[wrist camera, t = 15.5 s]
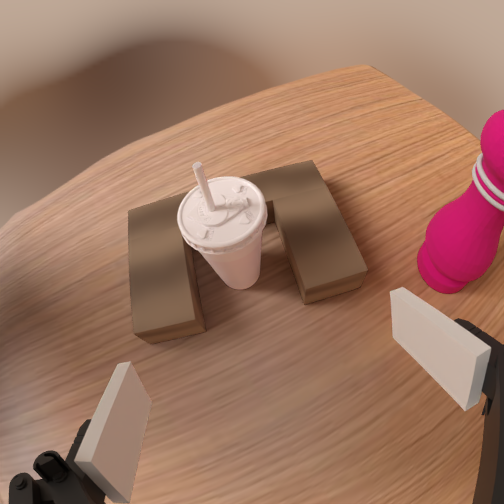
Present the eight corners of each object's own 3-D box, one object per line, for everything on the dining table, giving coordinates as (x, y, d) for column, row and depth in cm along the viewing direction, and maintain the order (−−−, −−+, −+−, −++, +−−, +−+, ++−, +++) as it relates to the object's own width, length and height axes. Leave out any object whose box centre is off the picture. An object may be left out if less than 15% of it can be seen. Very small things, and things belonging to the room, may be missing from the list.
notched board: (360, 287, 27) (368, 269, 24) (150, 344, 27) (133, 333, 24) (311, 182, 34) (312, 160, 31) (140, 229, 34) (128, 210, 31)
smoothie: (204, 251, 31) (156, 144, 19) (266, 236, 31) (249, 121, 19) (212, 309, 28) (154, 217, 16) (281, 294, 28) (271, 189, 16)
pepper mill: (461, 235, 29) (542, 84, 12) (478, 295, 25) (598, 155, 8) (405, 236, 30) (473, 60, 12) (419, 302, 26) (537, 134, 9)
